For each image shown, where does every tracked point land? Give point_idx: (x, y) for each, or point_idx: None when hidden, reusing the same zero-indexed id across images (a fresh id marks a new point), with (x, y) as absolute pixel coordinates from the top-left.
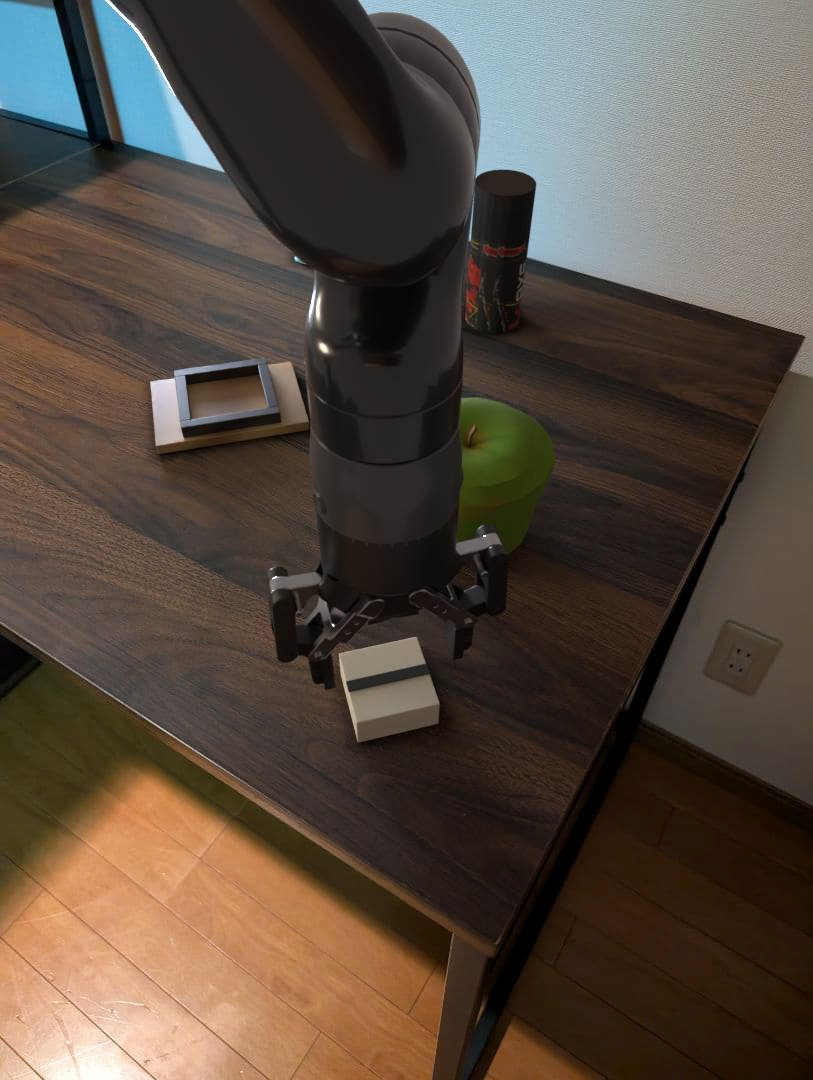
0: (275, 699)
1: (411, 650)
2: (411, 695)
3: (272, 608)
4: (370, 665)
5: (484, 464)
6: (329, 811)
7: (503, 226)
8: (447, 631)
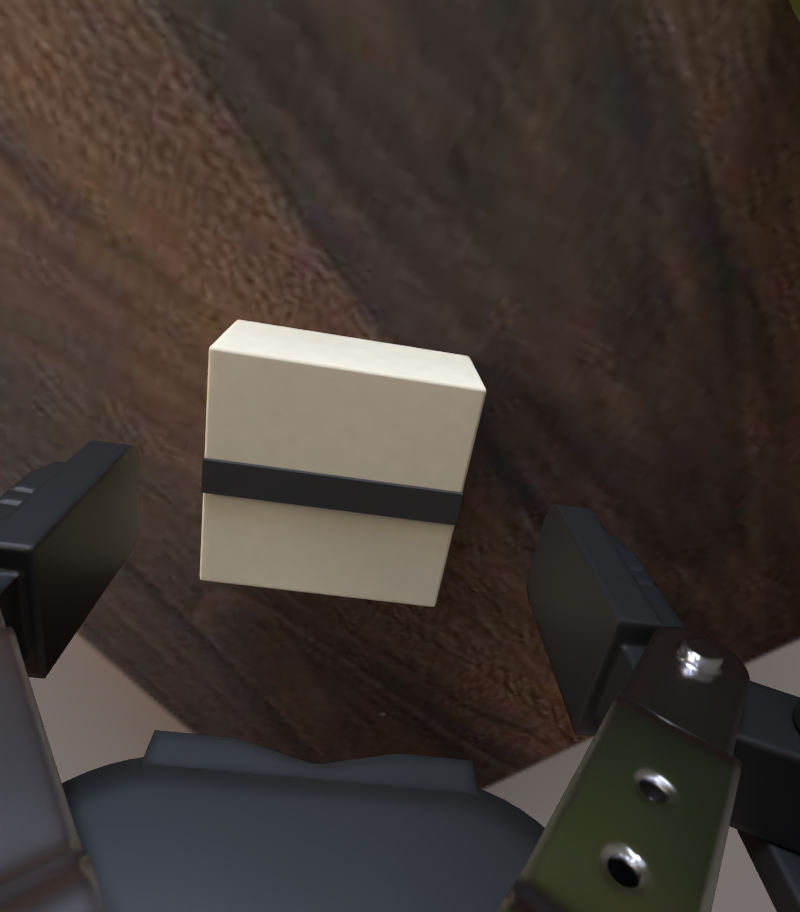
0: (25, 321)
1: (444, 432)
2: (375, 562)
3: None
4: (297, 433)
5: None
6: (123, 630)
7: None
8: (564, 580)
